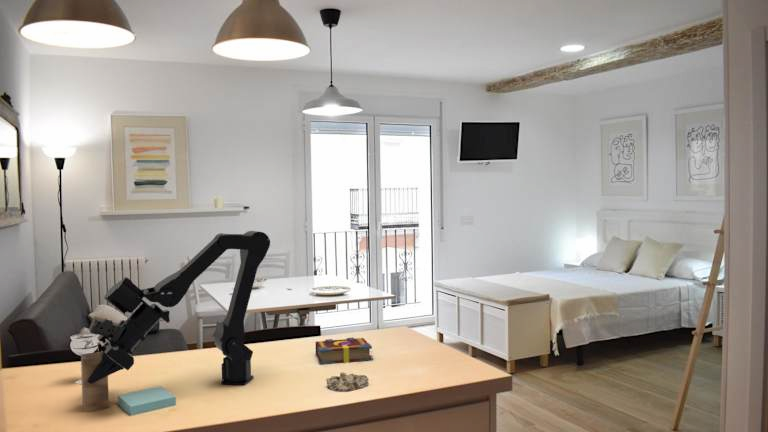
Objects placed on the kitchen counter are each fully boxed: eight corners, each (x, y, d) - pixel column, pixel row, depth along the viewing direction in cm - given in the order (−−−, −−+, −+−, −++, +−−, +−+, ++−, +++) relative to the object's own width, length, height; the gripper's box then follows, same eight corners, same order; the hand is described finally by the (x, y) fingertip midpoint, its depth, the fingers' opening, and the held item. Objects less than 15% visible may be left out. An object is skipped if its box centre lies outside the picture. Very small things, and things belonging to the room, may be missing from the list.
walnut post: (106, 401, 142) (104, 351, 142) (108, 407, 138) (107, 355, 137) (82, 405, 140) (80, 354, 139) (84, 412, 135) (82, 359, 135)
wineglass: (71, 379, 159) (69, 334, 159) (99, 375, 163) (97, 331, 162) (72, 386, 154) (70, 340, 153) (101, 382, 157) (99, 336, 156)
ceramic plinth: (161, 396, 147) (160, 386, 147) (176, 407, 139) (175, 396, 139) (117, 405, 141) (117, 395, 140) (130, 417, 133) (130, 406, 133)
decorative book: (315, 355, 181) (314, 339, 180) (367, 351, 185) (367, 335, 184) (320, 366, 170) (319, 348, 169) (376, 361, 174) (375, 344, 173)
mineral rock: (328, 385, 145) (325, 367, 152) (328, 401, 146) (324, 382, 154) (372, 383, 147) (366, 365, 155) (371, 398, 149) (365, 380, 156)
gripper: (106, 298, 148) (56, 349, 143) (116, 310, 132) (61, 368, 127) (141, 326, 152) (94, 376, 147) (155, 341, 136) (103, 398, 131)
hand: (88, 379), depth 138 cm, fingers closed on walnut post, 5 cm apart
